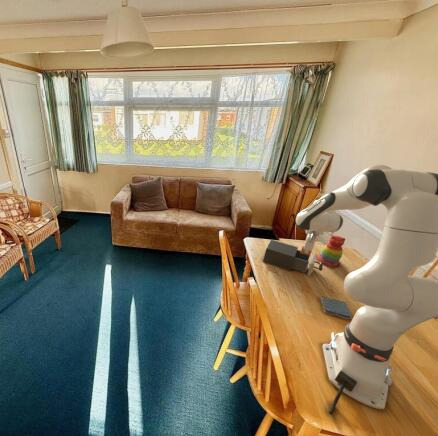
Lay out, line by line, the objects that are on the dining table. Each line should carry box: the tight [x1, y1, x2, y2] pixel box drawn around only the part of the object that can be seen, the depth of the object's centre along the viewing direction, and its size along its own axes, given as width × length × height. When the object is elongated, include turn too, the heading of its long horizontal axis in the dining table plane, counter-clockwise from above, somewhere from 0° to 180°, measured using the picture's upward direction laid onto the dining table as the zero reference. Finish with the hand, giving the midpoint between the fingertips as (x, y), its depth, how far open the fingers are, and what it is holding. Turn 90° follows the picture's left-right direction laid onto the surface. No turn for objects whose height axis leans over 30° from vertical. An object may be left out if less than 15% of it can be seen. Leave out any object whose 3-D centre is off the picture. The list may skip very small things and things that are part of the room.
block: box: [300, 242, 312, 257], centre depth 126 cm, size 4×4×4 cm
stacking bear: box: [316, 235, 346, 268], centre depth 133 cm, size 11×10×18 cm
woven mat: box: [319, 295, 353, 321], centre depth 105 cm, size 10×11×2 cm
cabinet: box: [262, 239, 299, 272], centre depth 136 cm, size 15×13×10 cm
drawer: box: [291, 249, 324, 276], centre depth 130 cm, size 18×11×8 cm, turn 52°
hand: (306, 249), depth 127 cm, fingers closed on block, 4 cm apart
